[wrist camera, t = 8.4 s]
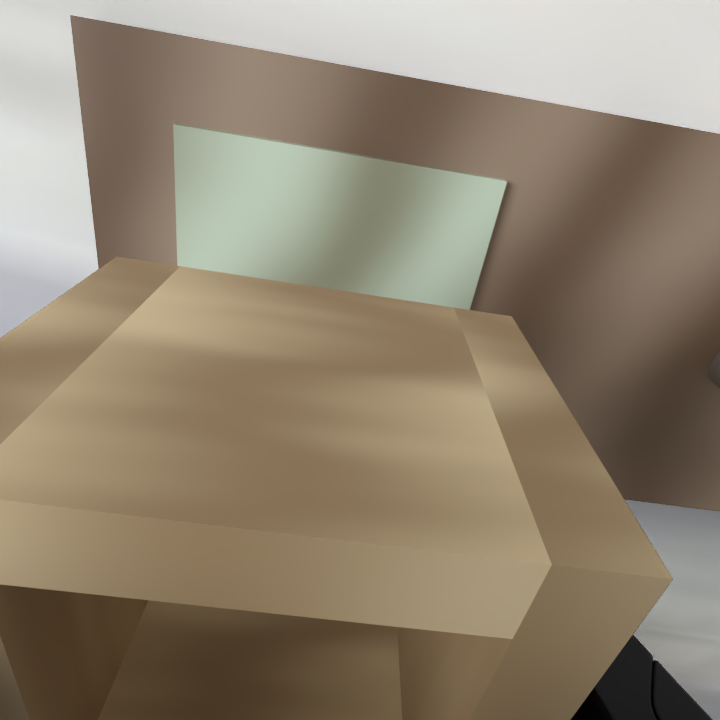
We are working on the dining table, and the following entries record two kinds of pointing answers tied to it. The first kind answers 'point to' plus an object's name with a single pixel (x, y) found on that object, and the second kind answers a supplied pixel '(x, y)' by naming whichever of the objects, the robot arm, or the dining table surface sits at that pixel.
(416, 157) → the board
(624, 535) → the collar
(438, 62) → the dining table surface
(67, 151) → the dining table surface
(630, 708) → the robot arm
